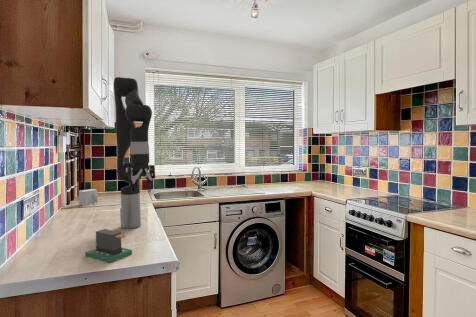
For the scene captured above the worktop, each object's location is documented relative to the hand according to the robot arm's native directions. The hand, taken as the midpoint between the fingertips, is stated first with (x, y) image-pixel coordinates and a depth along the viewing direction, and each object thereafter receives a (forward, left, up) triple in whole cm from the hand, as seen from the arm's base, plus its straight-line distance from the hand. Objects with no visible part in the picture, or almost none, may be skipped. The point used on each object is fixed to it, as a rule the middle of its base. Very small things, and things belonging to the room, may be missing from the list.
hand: (141, 190), depth 124 cm
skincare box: (-98, +41, -23) cm, 109 cm away
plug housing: (+1, -16, -20) cm, 25 cm away
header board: (-1, -16, -23) cm, 28 cm away
